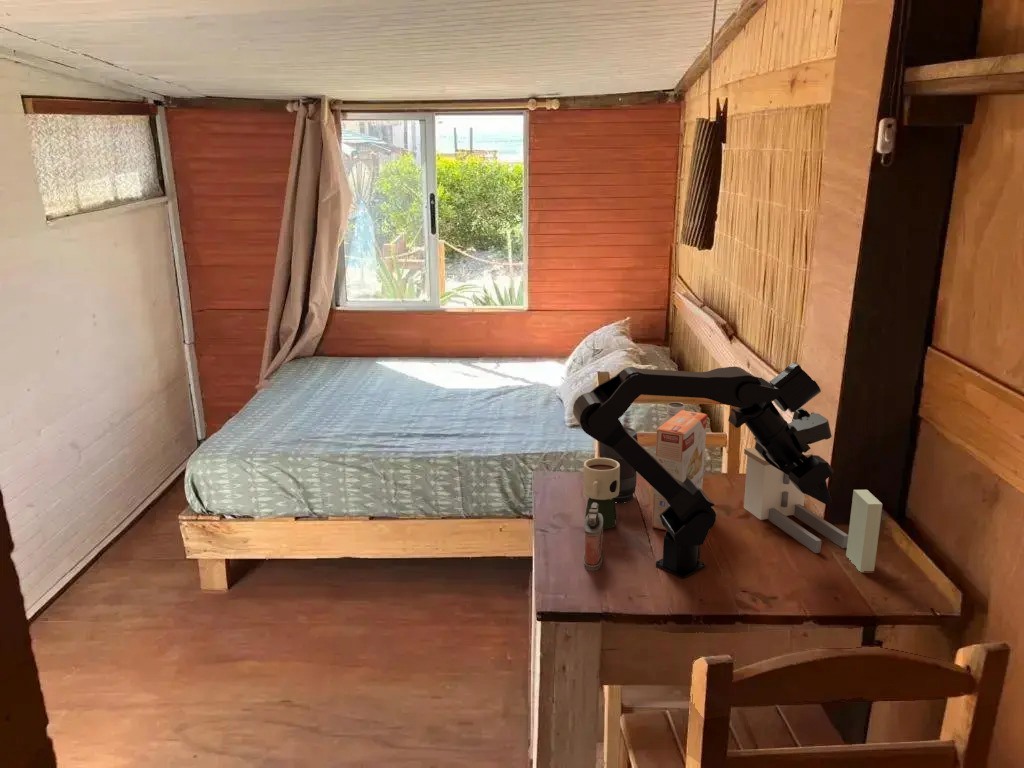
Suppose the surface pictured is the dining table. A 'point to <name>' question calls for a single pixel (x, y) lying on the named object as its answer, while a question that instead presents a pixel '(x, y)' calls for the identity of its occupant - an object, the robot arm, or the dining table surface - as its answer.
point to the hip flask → (593, 538)
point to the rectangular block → (864, 530)
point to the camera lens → (622, 470)
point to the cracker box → (680, 453)
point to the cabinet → (784, 503)
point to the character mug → (602, 487)
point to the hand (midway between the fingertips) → (816, 491)
